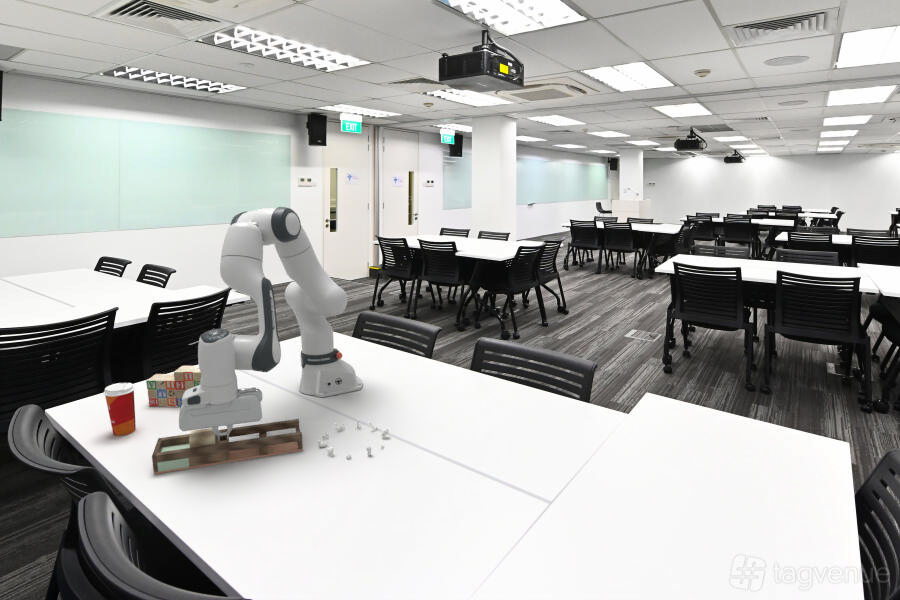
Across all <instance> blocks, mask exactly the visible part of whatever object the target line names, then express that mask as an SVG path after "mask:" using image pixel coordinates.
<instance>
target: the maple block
mask: <svg viewBox="0 0 900 600" xmlns="http://www.w3.org/2000/svg"><path fill="white" fill-rule="evenodd" d="M189 434H190V437H189V445H190V448H192V447H199V446H206V445H213V444H216V443H217V439H216V434H215V433H214V432H213V431H212V428H204V429H197V430H190V433H189Z"/></svg>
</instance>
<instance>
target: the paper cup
mask: <svg viewBox="0 0 900 600" xmlns="http://www.w3.org/2000/svg"><path fill="white" fill-rule="evenodd" d="M135 389H136V388H135V386H134V384H133V383H131V382H118V383H114V384H111V385H108V386H106V387H105V388H104V391H103V395H104V396H105V402H106V405H107V411H108V416H109V420H110V425H111V429H112V433H113V435H114V436H116V437H117V436H118V437H122V436H123V437H124V436H127V435H130V434H133V433H135V431H136V430H137V429H136V428H137V427H136V426H137V425H136V406H135Z"/></svg>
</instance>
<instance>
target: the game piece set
mask: <svg viewBox="0 0 900 600" xmlns="http://www.w3.org/2000/svg"><path fill="white" fill-rule="evenodd" d="M356 423H357V424H356V425H355V426H354V427H353V428H354V430H355V431H360V430H362V425H360V424H359V423H360V419H359V418H357V419H356ZM368 424H369V425H370V426H371V427H372V429H371V432H372V433H375V432H376V431H377V430H378V427H377V426H374V425H372V424H371V421H370V422H368ZM334 425H335V426H337V427H338V428H337V427H335V431H337V433H338V432H341V431H343V430H344V429H345V427H344V425H345V423H343V424H341V425H339V424H338V423H334ZM387 434H389V429H387V428H384V429H382V431H381V434H380V437H382V439H384V440H385V439H386V436H387ZM328 439H329V433H328V431H325V433H323V434H322V440H328ZM322 440H321V439H319V440H317V441H316V443H318V446H320V448H323V447H326V446H327V445H328V444H329V443H328V442H326V441H322ZM384 448H385V445H384V444H383V445H382V444H381V445H380V449H384ZM365 450H366V451H367V456H368V457H370V456H372V446H370V445H367V446H366V448H365ZM334 451H335V447H333V446H330V447H329V448H327V449H326V452H327V453H328V454H326V456H327V457H328V458H330V457H333V456H335V455H334ZM345 458H346V460H351V459H352V455H351V454H350V453H348V454H347V455H346V456H345Z"/></svg>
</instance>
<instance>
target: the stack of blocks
mask: <svg viewBox="0 0 900 600" xmlns="http://www.w3.org/2000/svg"><path fill="white" fill-rule="evenodd" d="M200 380H201V371H200V369H199V365H181V366H180V367H178V368H177V369H176V370H175V371H173V374H172V373H155V374H154V375H152V376H151V377H150V378H148V379H146V381H145V382H146V383H145V384H146V389H147V398H148V405H149V407H159V406H174V407H173V408H176V407H175V406H178V407H179V406H180V408H181V406H182V397H183V394H184V392H185V391H186V390H188V389H190V388H193V387H196V386H198V385H200Z"/></svg>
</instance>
